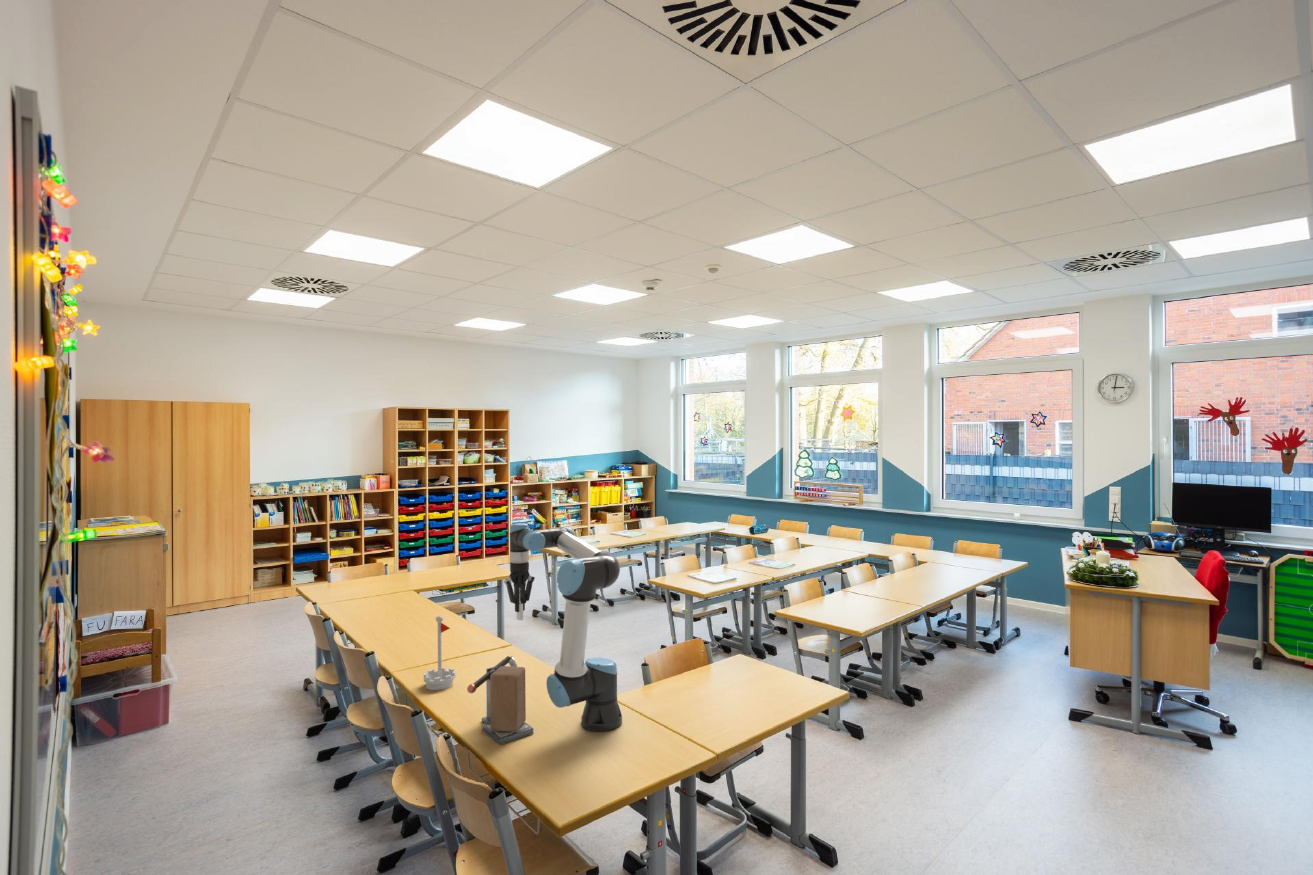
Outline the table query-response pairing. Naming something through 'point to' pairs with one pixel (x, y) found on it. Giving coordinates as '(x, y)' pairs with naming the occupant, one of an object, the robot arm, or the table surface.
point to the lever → (474, 686)
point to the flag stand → (439, 666)
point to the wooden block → (507, 698)
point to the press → (502, 736)
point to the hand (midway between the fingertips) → (519, 619)
